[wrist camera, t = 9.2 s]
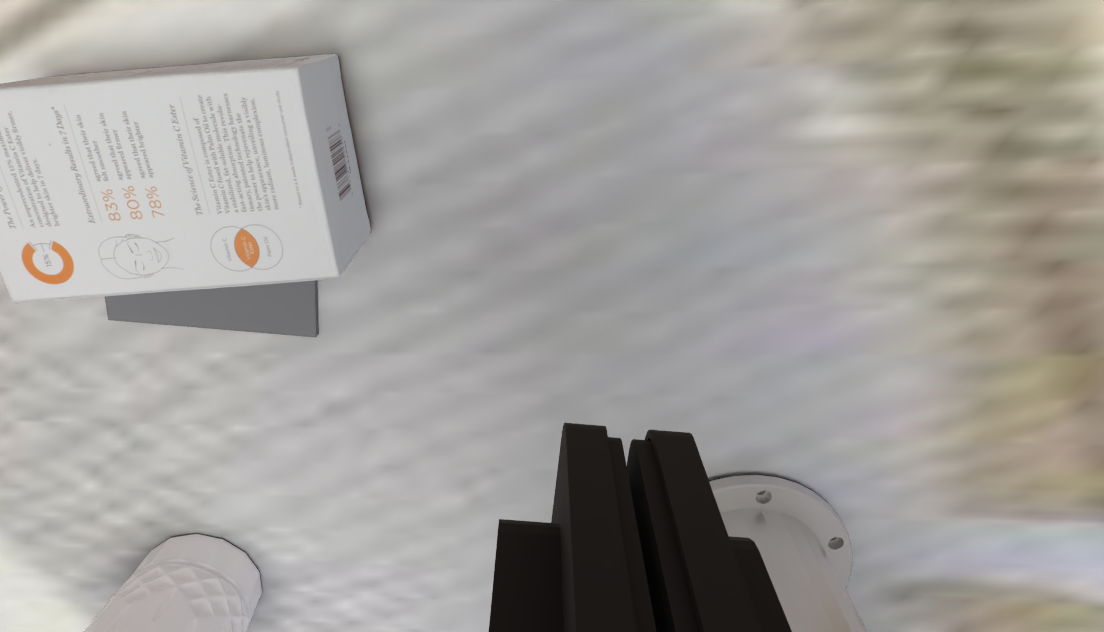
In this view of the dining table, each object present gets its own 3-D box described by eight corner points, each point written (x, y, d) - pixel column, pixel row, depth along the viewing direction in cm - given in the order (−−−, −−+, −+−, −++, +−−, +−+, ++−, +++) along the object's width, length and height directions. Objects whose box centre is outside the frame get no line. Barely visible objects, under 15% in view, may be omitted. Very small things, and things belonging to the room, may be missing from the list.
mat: (318, 333, 36) (316, 337, 36) (112, 316, 36) (108, 320, 35) (312, 108, 32) (309, 109, 32) (77, 84, 31) (72, 85, 31)
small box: (342, 52, 31) (35, 73, 31) (298, 64, 25) (-80, 90, 25) (373, 234, 34) (95, 254, 34) (341, 283, 28) (6, 307, 28)
